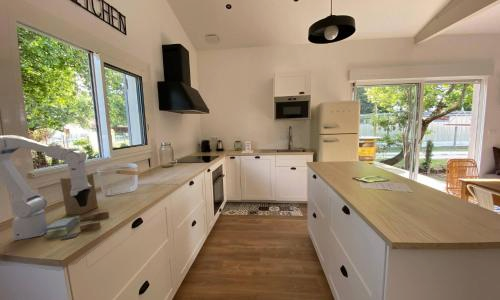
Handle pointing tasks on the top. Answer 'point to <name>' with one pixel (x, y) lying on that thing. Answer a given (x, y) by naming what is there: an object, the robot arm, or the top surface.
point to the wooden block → (71, 202)
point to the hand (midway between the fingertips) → (83, 206)
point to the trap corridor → (82, 227)
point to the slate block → (62, 224)
